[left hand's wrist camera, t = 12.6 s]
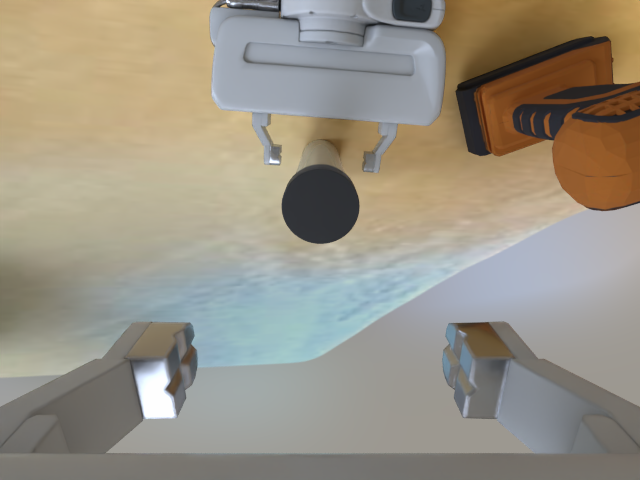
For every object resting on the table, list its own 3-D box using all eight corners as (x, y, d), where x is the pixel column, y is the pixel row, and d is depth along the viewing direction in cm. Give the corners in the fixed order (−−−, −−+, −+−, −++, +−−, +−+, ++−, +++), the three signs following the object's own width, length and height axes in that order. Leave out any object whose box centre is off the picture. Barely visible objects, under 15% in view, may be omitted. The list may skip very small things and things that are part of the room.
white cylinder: (329, 133, 40) (337, 161, 22) (344, 167, 42) (363, 221, 24) (295, 149, 41) (276, 190, 23) (311, 183, 42) (305, 246, 24)
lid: (339, 151, 23) (340, 155, 22) (367, 217, 25) (371, 225, 23) (271, 182, 24) (267, 189, 22) (303, 245, 26) (302, 255, 24)
